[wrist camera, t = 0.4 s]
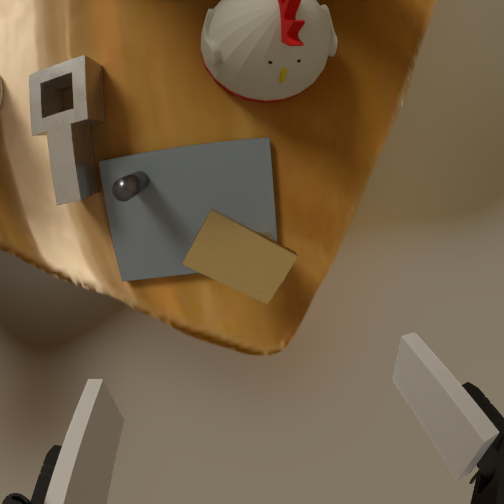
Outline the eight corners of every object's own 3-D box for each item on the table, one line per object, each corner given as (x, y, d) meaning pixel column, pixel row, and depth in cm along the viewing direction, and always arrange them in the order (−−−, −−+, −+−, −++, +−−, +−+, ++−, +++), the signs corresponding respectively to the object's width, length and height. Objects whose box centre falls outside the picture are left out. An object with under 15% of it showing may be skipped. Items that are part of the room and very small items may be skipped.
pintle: (128, 172, 32) (110, 179, 26) (147, 169, 32) (132, 175, 26) (131, 192, 33) (114, 203, 27) (150, 189, 33) (136, 199, 27)
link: (51, 81, 28) (29, 75, 23) (102, 65, 28) (84, 54, 23) (64, 198, 33) (42, 208, 28) (114, 188, 34) (97, 197, 28)
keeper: (212, 192, 34) (210, 210, 25) (283, 230, 36) (304, 259, 27) (190, 233, 35) (182, 264, 26) (260, 268, 37) (273, 307, 29)
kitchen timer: (208, 109, 32) (203, 85, 18) (195, 4, 27) (185, -67, 13) (330, 98, 33) (397, 77, 19) (312, -3, 28) (360, -63, 14)
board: (102, 160, 32) (98, 161, 31) (267, 137, 34) (269, 137, 33) (124, 277, 37) (122, 281, 36) (276, 259, 39) (278, 263, 38)
